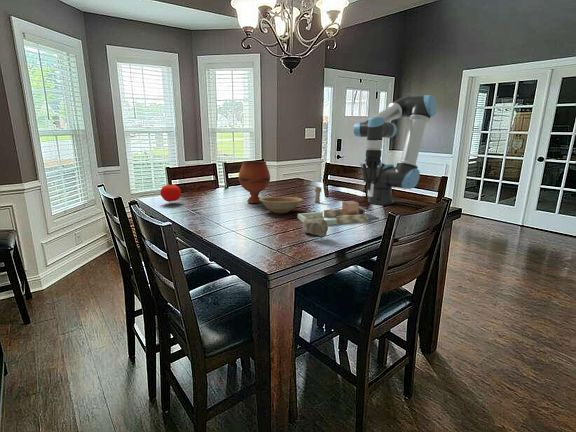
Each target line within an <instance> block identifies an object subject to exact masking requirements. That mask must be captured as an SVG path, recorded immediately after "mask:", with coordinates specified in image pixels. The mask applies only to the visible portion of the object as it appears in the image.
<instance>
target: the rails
mask: <svg viewBox="0 0 576 432" xmlns="http://www.w3.org/2000/svg"><path fill="white" fill-rule="evenodd" d="M307 215H313V216H317V217H320V218H323V217H324V211H318V212H316V211H315V212H303V213H297V220H300V221H301V222H302V223H303V222H304V218H305V216H307ZM324 220H325V221H326V223H327V225H328V226H331V225H332V226H334V225H337V224H336V218H333V219H332V218H330V219H324Z"/></svg>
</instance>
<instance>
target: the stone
mask: <svg viewBox="0 0 576 432" xmlns="http://www.w3.org/2000/svg"><path fill="white" fill-rule="evenodd" d="M325 220H326V219H324V218H323V217H317V216H313V215H307V216H305V218H304V222H302V232H305V233H308V234H310V235H315V236H319V237H323V236H326V235H327V233H328V230H329V225H327V223H326V221H325Z"/></svg>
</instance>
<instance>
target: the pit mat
mask: <svg viewBox="0 0 576 432" xmlns="http://www.w3.org/2000/svg"><path fill="white" fill-rule="evenodd" d="M365 214H366V221H370V220H371V221H372V220H380V217H377V216H375V215H373V214H370V213H365Z"/></svg>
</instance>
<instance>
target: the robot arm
mask: <svg viewBox="0 0 576 432" xmlns="http://www.w3.org/2000/svg"><path fill="white" fill-rule="evenodd" d="M437 107H438V106H437V101H436V97H434V95H432V94H428V95H427V94H424V95H423V94H422V95H410V96H409V95H407V96H404V97H401V98H398V99H397V100H395V101H393V102H391V103H390V104H388V105H387V107H386V108H385V109H383V110H381V111H379V113H377V114H375V115H374V116H370V117H369V118H368V119H367V120H365V121H364V122H361V121H359V122H356V123H355V124H354V125H353V128H352V130H353V134H354V136H355V137H359V138H366V150H365V160H364V162H362V163H360V164H359V165H360V167H361V170H362V178H363V179H362V180H363V182H364V183H366V190H367V197H368V198H367V202H368V203H370V204H371V205H372V204H373V205H382V206H387V205H388V206H389V205H393V204H394V202H395V201H394V195H393V191H392V190H393V189H392V188H396V189H397V188H399V189H402V190H403V189H404V190H407V189H408V190H411V189H414V188H415V187H416V186H417V184H418V182H419V181H420V174H421V172H420V170H419V169H418V168H419V166H418V165H417V164H416V163H417V160H418V157H419V152H420V149H421V144H422V140H423V137H424V133H425V128H426V124H427V123H429V122H430V120H431V118H432V117H434V116H435V115H436V114H437V111H438V110H437ZM400 118H408V120H409V121H410V122H409V126H408V129H407V133H406V138H405V141H404V144H403V149H402V154H401V158H400V161H398V162H397V163H396V165H394V164H393V163H392V164H390V163H389V164H385V163H383V162H382V160H381V157H382V148H383V140H384V139H383V138H386V139H388V138H389V139H391V138H393V137H394V136H395V135H396V134H397V133H398V128H397V125H396V124H395V123H393V122H392V121H393V120H398V119H400Z"/></svg>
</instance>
